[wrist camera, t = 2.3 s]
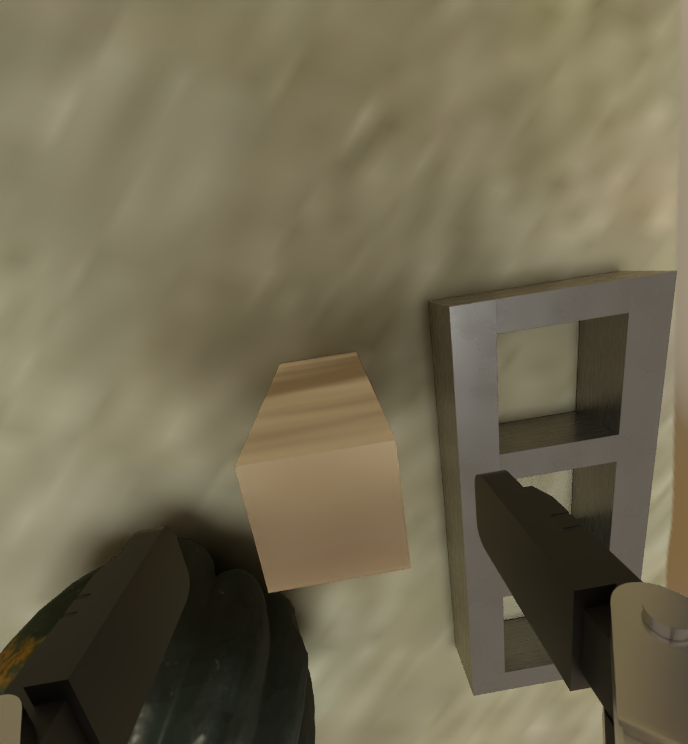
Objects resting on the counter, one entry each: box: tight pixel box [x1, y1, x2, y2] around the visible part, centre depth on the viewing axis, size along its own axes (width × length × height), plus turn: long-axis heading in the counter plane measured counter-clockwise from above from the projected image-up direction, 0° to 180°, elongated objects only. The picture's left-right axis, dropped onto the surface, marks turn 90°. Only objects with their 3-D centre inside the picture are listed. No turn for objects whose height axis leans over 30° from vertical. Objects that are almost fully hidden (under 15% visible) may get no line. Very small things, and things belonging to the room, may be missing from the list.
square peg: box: [235, 352, 411, 593], centre depth 14 cm, size 4×4×10 cm
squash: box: [0, 538, 315, 744], centre depth 16 cm, size 14×15×15 cm
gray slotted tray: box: [428, 271, 677, 696], centre depth 20 cm, size 24×10×3 cm, turn 8°
